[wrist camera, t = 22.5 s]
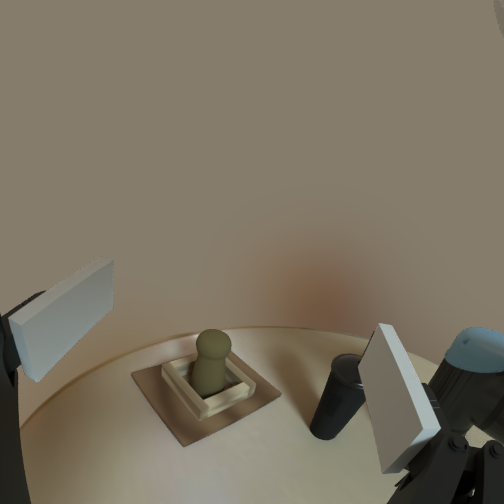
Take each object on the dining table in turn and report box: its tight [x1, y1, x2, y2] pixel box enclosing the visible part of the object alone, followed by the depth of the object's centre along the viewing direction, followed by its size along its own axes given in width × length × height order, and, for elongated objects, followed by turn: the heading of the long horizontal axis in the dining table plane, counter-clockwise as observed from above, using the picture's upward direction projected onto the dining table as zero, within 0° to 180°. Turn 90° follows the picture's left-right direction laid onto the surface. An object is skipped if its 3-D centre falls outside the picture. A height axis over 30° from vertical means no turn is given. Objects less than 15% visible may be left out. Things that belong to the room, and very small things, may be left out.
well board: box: [131, 351, 282, 447], centre depth 45 cm, size 20×16×4 cm
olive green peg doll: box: [189, 329, 232, 399], centre depth 43 cm, size 6×6×11 cm
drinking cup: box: [310, 331, 375, 440], centre depth 37 cm, size 8×8×20 cm
